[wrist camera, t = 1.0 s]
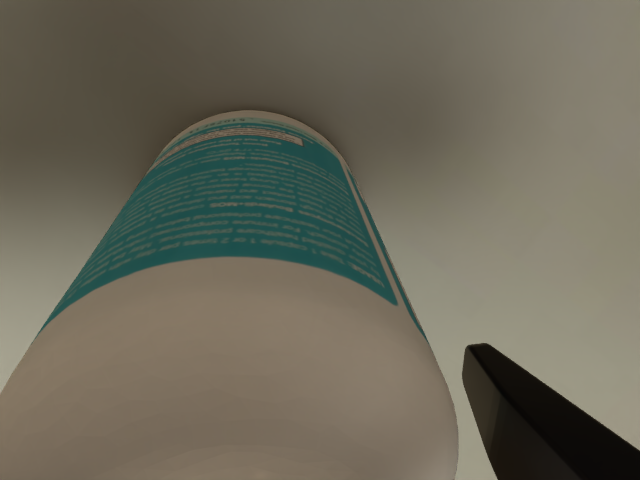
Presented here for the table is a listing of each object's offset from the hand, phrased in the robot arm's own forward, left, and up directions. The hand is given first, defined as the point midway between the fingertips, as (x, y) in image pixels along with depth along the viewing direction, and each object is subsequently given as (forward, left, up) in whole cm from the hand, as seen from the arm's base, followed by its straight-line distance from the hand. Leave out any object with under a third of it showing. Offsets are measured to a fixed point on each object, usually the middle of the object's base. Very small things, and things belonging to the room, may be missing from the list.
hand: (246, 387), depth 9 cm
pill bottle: (0, 0, -8) cm, 9 cm away
